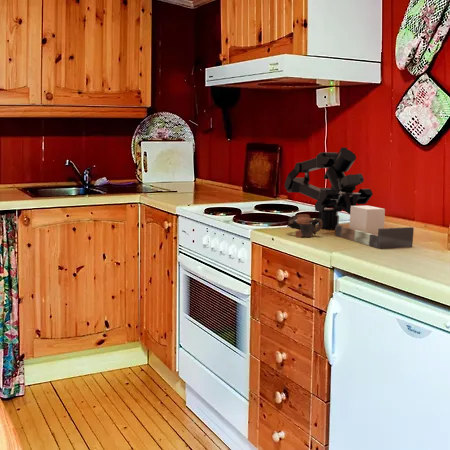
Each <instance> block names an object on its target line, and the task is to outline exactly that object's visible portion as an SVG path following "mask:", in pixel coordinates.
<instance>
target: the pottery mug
mask: <svg viewBox="0 0 450 450" xmlns="http://www.w3.org/2000/svg"><path fill="white" fill-rule="evenodd" d="M318 223H319V226H318ZM317 226H318V227H317ZM286 227H287V228H291V229H295V231H294V233H295V237H296V238H301V237H305V238H313V236H314V235H316V234H317V233H318V232H320V231H321V230H322V227H323V223H322V220H321V219H319V218H314V219H313V218H311V215H310V214H306V213H302V214H301V213H300V214H295V215H292V216H290V217H289V218H288V223H287V226H286Z"/></svg>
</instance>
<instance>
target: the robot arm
mask: <svg viewBox="0 0 450 450" xmlns="http://www.w3.org/2000/svg"><path fill="white" fill-rule="evenodd" d="M356 160H357V155H356V154H355V152H354V151H351V150H349V149H348V147H346V146H345V147H341V148H340V150H339V152H337V151H335V152H334V151H333V152H330V151H329V152H327V151H325V152H323V151H321V152H319V153H318V154H317V155H316V157H315V158H314V157H313V158H311V159H307V160H305V161H300V162H296V163H295V164H294V168H293V169H292V170H291V171H290V172H289V173H288V174H287V176H286V179H285V182H284V189H285V190H286V192H287V193H294V194H295V193H298V194H302V195H304V196H306V197H309V198H312V199H313V200H316V202H315V204H314V210H315V212H318V219H321V220H322V223H323V227H322V229H323V230H335V229H336V225H340V215H338V214H339V212H340V213H342V212H343V211H344V212H346V213H347V214H349V215H350V210H351V206H357V205H366V204H367V203H368V202H369V200H370V199H371V198H372V196H373V195H374V193H373V191H372V189H371V188H360V189H359V190H358V191H357V192H354V191H356V187H357V186H359V185H361V184H362V183H364V182H365V181H364V180H365V178H364V176H363V174H362V173H356V174H347V175H346V174H345V173H346V172H348V171H349V170H350V168H351V167H352V165H353V164H354V163H355V161H356ZM321 169H327V170H326V171H325V174H324V176H323V179H324V180H328V181H329V182H330V185H331V187H318V186H315V185H313V184H311V183H310V181H311V179H310V172H313V171H316V170H321ZM300 173H302V174H303V173H304V177H297V176H298V175H299V174H300ZM318 226H319V223H317V225H316V228H317V227H318ZM322 229H321V230H322Z"/></svg>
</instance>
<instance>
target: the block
mask: <svg viewBox="0 0 450 450" xmlns="http://www.w3.org/2000/svg"><path fill="white" fill-rule="evenodd" d="M385 214H386V208H382V207H377V206H372V205H356V206H351V210H350V214H349V227H348V228H351V229H355V230H359V231H362V232H366V233H370V234H378V229H382V228H385Z"/></svg>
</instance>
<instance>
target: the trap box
mask: <svg viewBox="0 0 450 450" xmlns="http://www.w3.org/2000/svg"><path fill="white" fill-rule="evenodd" d="M414 229H415V228H414V227H411V226H409V227H408V226H407V227H406V226H405V227H384V228H382V229H378V234H370V233H366V232H362V231H359V230H355V229H351V228H349V227H348V226H343V225H340V224H339V225H336V229H334V231H335V232H334V233H335V235H334V236H335V237H339V238H342V239H346V240H349V241H352V242H355V243H359V244H363V245H364V246H369V247H372V248H376V249H379V250H380V249H382V250H383V249H398V248H413V244H414Z"/></svg>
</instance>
